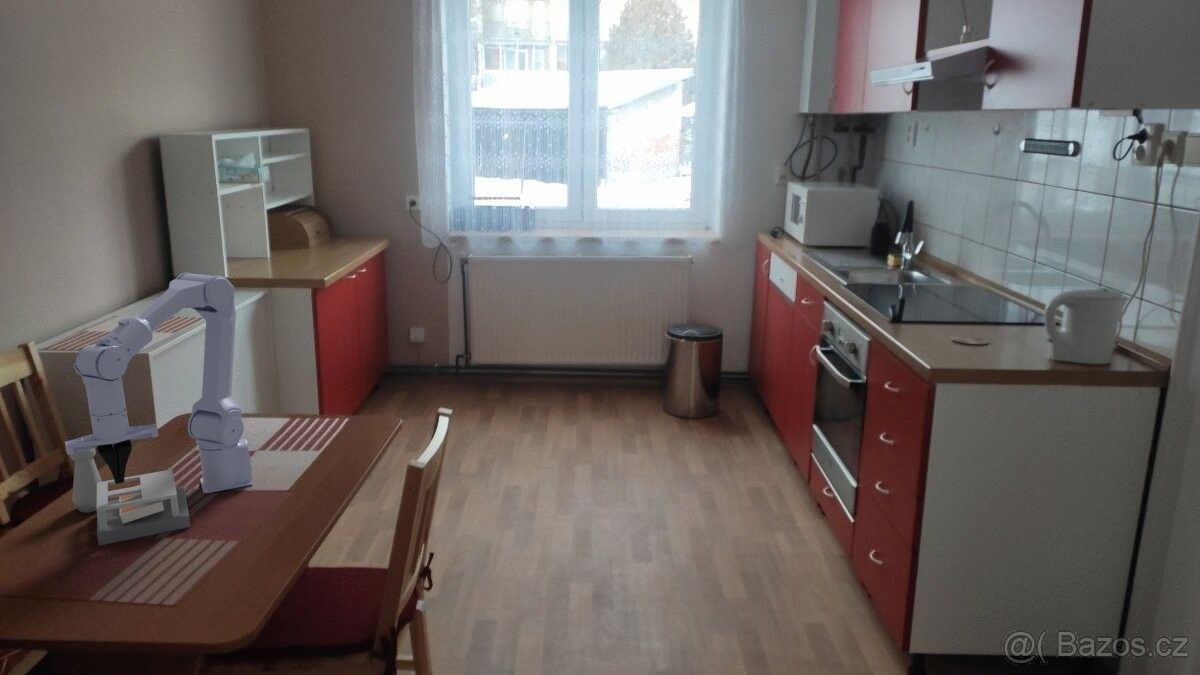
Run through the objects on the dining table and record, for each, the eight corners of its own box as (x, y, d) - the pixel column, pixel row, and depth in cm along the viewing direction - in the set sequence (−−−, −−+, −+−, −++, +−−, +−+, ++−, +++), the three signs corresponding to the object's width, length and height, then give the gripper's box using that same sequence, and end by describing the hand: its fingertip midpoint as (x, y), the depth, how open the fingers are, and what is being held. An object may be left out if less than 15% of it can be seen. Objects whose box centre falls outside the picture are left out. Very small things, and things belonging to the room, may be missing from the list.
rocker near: (162, 499, 167) (159, 491, 167) (164, 510, 163) (161, 501, 162) (122, 512, 164) (119, 504, 164) (122, 523, 160) (119, 514, 160)
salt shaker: (92, 516, 169) (82, 453, 166) (67, 513, 170) (56, 450, 167) (115, 503, 175) (105, 441, 171) (90, 500, 176) (80, 439, 173)
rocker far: (160, 485, 173) (157, 477, 172) (162, 495, 169) (158, 487, 168) (122, 500, 170) (118, 491, 169) (123, 510, 166) (119, 501, 165)
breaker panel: (185, 498, 177) (180, 466, 175) (190, 526, 165) (186, 493, 163) (99, 514, 170) (94, 482, 168) (98, 545, 158) (93, 510, 156)
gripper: (148, 397, 164) (158, 464, 168) (58, 413, 156) (70, 484, 159) (156, 407, 159) (166, 476, 162) (63, 424, 151) (76, 497, 154)
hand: (119, 481), depth 161 cm, fingers closed
